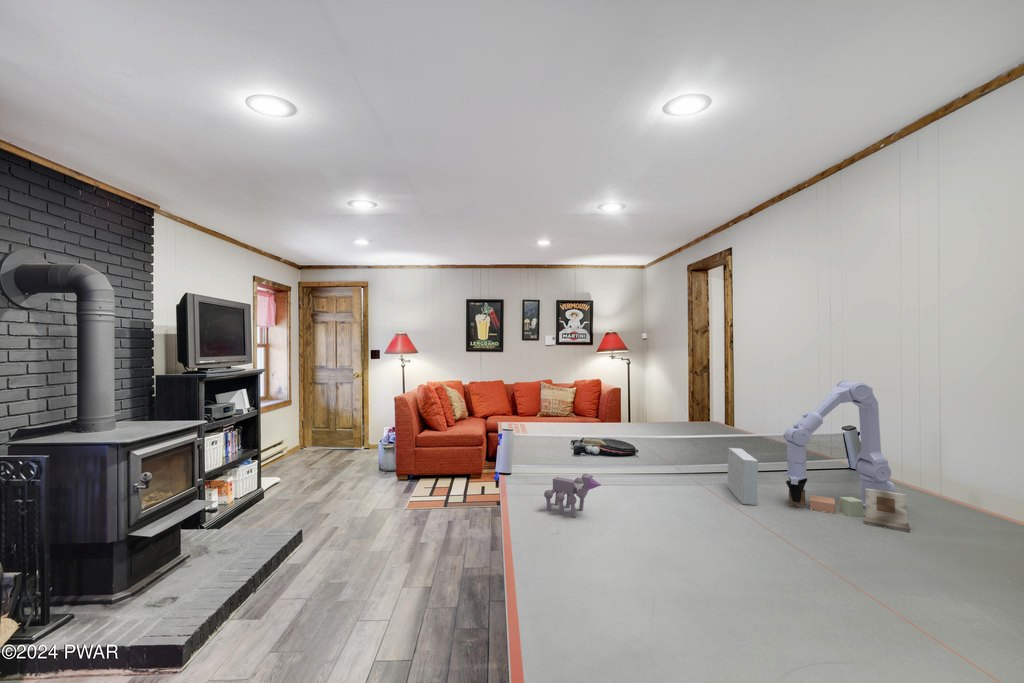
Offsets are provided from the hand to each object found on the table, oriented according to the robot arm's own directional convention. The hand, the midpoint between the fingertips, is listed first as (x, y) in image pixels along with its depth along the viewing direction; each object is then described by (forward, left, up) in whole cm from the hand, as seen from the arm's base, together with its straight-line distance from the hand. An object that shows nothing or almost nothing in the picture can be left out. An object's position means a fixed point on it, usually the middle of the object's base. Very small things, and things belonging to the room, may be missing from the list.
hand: (797, 500), depth 163 cm
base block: (-7, +2, -2) cm, 8 cm away
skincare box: (+17, -5, -2) cm, 18 cm away
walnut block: (0, 0, -2) cm, 2 cm away
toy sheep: (+74, +31, -2) cm, 80 cm away
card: (-21, +13, -1) cm, 25 cm away
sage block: (-15, +5, -2) cm, 16 cm away
